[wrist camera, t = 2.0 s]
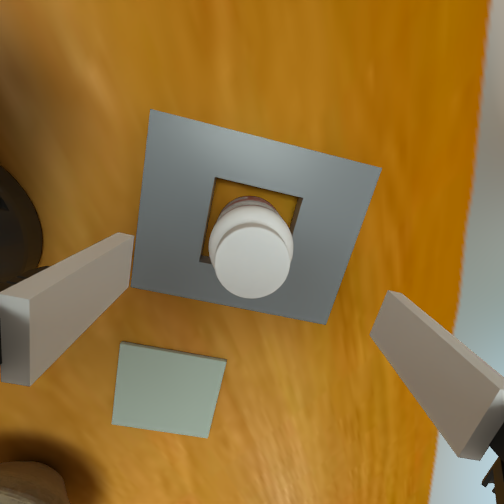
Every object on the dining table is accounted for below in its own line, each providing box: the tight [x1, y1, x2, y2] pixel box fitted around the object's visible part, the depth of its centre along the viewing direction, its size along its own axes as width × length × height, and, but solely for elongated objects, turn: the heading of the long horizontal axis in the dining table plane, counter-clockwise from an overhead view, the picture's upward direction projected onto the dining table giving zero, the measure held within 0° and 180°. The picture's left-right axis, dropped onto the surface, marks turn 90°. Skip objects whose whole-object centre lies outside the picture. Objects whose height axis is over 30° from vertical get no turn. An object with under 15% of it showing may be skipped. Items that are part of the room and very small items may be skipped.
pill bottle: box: [209, 196, 293, 299], centre depth 22 cm, size 6×6×11 cm
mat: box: [112, 341, 227, 438], centre depth 33 cm, size 12×12×1 cm
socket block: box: [131, 109, 382, 325], centre depth 26 cm, size 20×16×2 cm
